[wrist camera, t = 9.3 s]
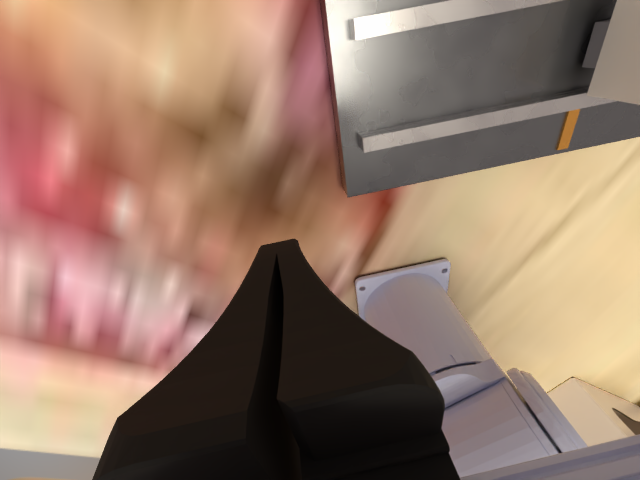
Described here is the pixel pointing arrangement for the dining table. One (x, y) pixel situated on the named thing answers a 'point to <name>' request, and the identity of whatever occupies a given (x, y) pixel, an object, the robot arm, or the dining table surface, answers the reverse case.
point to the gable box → (596, 412)
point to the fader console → (462, 86)
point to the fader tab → (616, 55)
